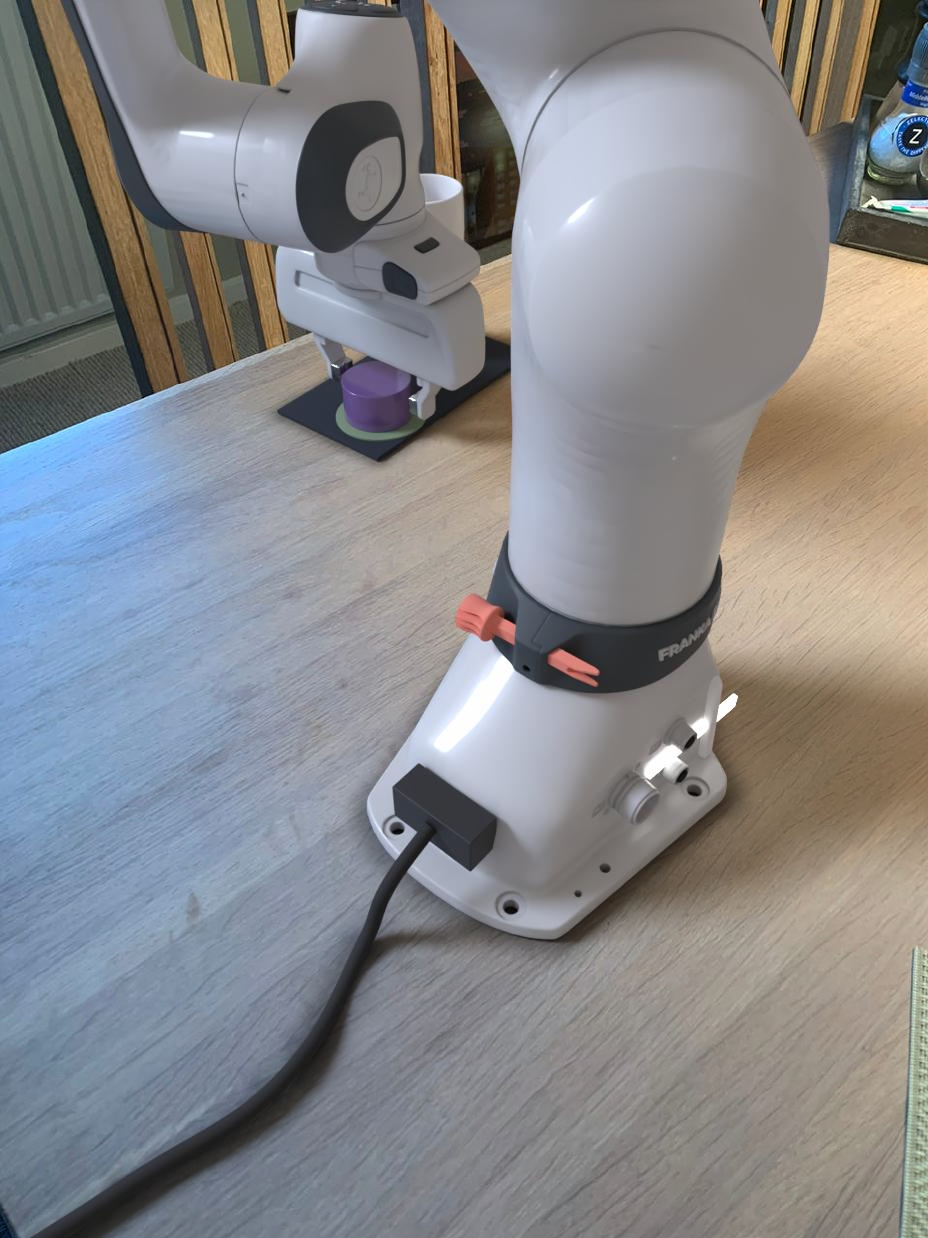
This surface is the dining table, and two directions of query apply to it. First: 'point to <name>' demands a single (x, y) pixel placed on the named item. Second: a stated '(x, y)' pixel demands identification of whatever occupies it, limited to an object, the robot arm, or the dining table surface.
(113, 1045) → the dining table surface
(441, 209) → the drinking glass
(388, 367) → the purple cylinder puck
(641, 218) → the robot arm
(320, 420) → the placemat
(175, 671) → the dining table surface
